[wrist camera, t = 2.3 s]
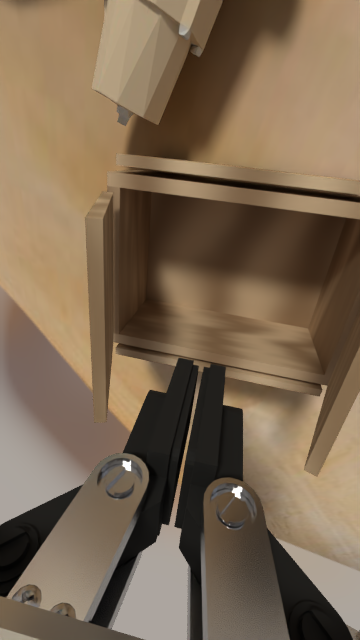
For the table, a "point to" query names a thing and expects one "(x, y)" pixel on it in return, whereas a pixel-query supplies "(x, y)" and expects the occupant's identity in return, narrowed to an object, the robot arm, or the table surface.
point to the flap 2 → (336, 400)
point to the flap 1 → (100, 298)
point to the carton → (235, 269)
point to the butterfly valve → (148, 51)
